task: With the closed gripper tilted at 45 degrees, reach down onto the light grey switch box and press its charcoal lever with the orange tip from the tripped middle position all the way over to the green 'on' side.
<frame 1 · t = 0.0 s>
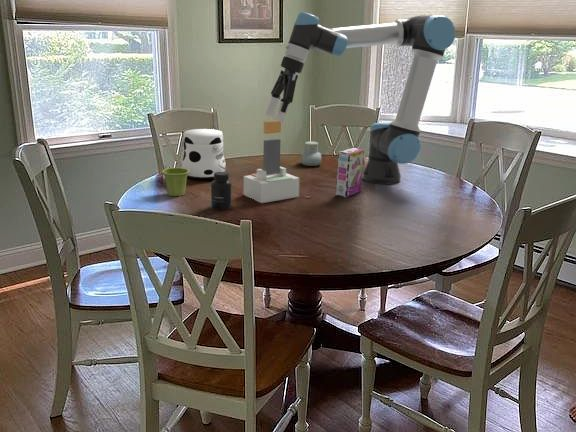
hand: (273, 118, 208), 28 cm above the table, tool tilted 20°, fingers open, 13 cm apart
candy bar box: (348, 194, 220), on the table
supplement bottle: (221, 208, 200), on the table
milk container: (204, 177, 239), on the table
air freshener: (310, 165, 263), on the table
plant pot: (176, 194, 214), on the table
switch lever: (271, 148, 209), point 17 cm above the table, hinge at 0.0°
switch box: (271, 195, 215), on the table
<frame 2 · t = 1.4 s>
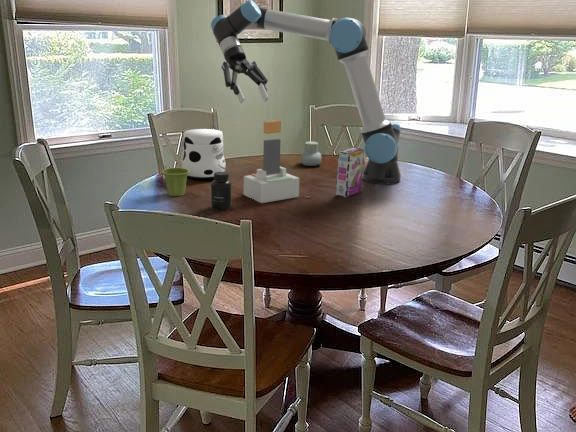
hand: (254, 100, 214), 33 cm above the table, tool tilted 45°, fingers open, 9 cm apart
nothing on the table moved.
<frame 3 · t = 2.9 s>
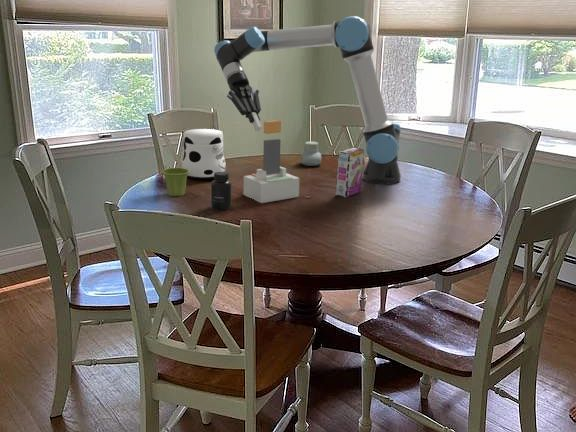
hand: (258, 129, 214), 23 cm above the table, tool tilted 45°, fingers closed
nothing on the table moved.
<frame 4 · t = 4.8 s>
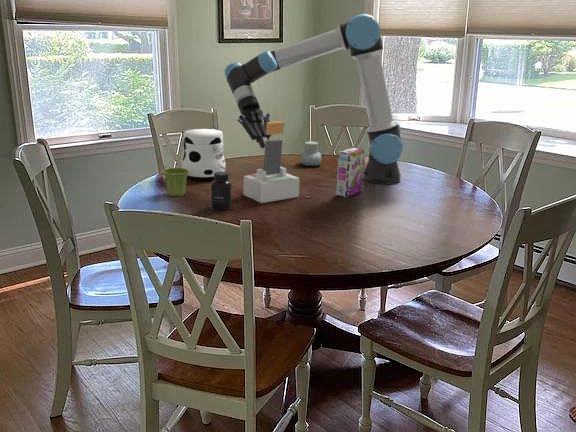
hand: (269, 154, 211), 15 cm above the table, tool tilted 45°, fingers closed
switch lever: (273, 148, 209), point 17 cm above the table, hinge at 5.9°, touching gripper
everything else where it was.
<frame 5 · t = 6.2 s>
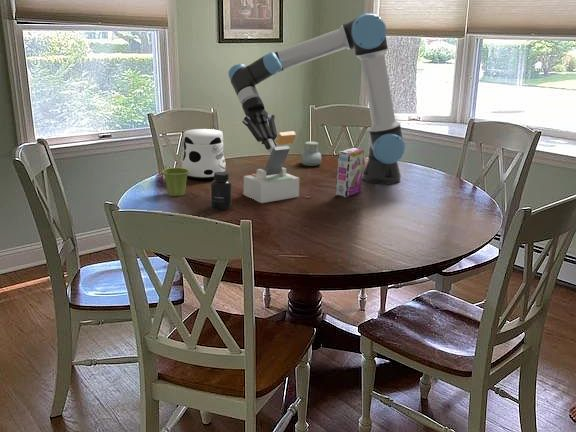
hand: (275, 156, 208), 15 cm above the table, tool tilted 45°, fingers closed
switch lever: (279, 154, 206), point 16 cm above the table, hinge at 31.4°
everything else where it was.
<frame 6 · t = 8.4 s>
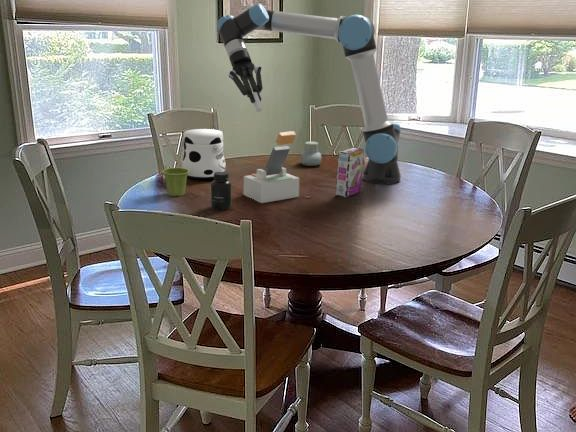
hand: (259, 109, 216), 29 cm above the table, tool tilted 40°, fingers closed
nothing on the table moved.
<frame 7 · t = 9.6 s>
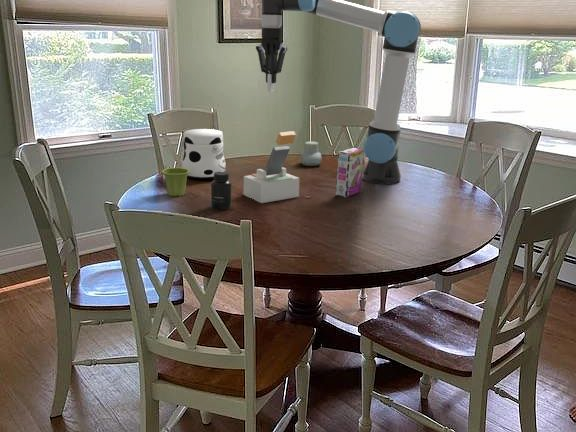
hand: (270, 91, 228), 34 cm above the table, tool pointing down, fingers closed
nothing on the table moved.
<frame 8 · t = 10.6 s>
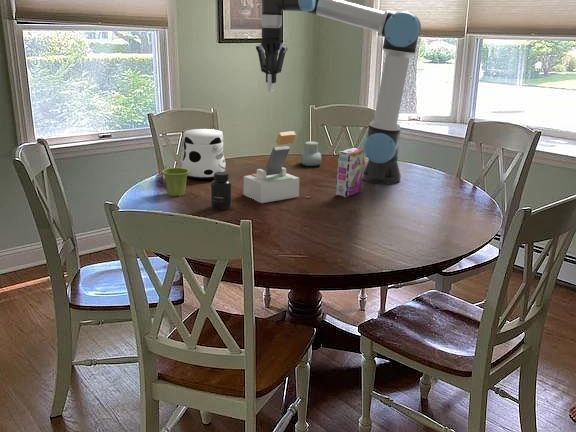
hand: (270, 91, 228), 34 cm above the table, tool pointing down, fingers closed
nothing on the table moved.
at the end: switch lever at +31° (first picture: +0°); supplement bottle moved 0.2 cm from its start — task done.
